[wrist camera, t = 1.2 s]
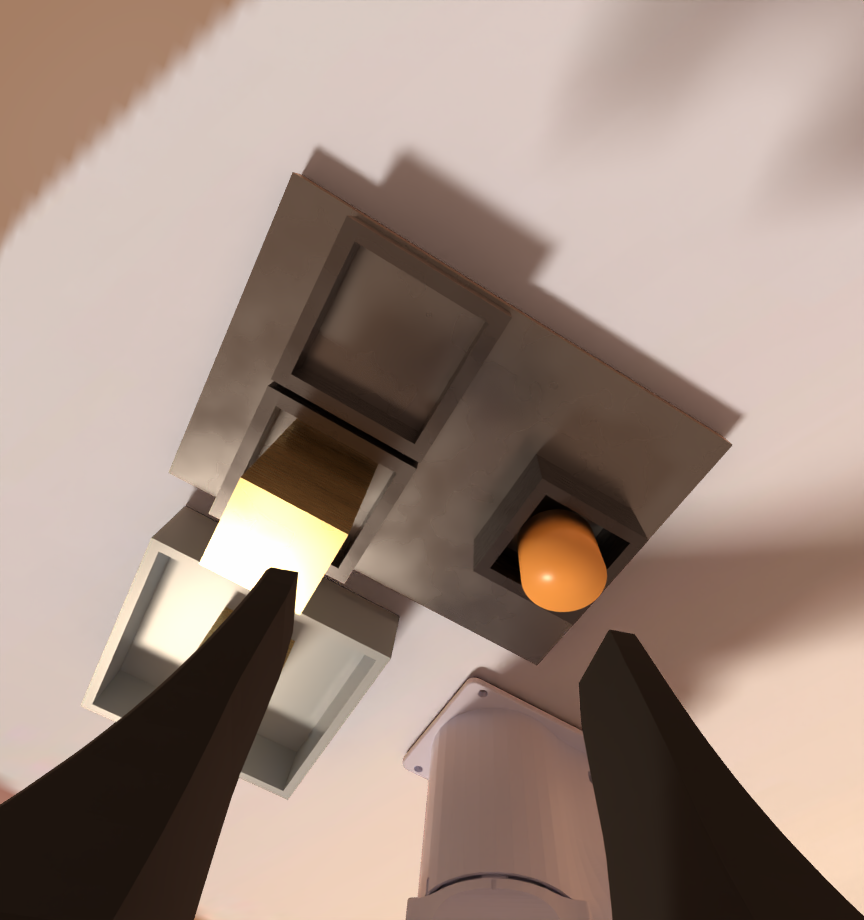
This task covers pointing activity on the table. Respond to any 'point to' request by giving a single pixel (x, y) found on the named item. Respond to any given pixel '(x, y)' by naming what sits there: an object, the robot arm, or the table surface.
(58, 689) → the table surface
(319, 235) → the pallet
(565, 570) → the button
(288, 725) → the tote
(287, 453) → the billet
